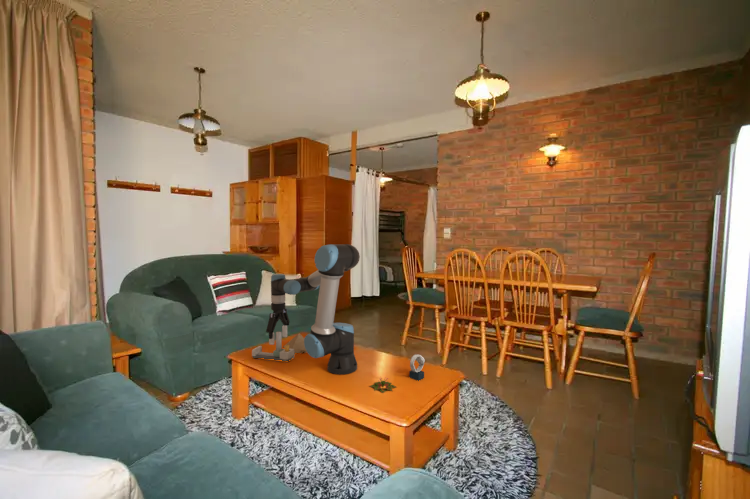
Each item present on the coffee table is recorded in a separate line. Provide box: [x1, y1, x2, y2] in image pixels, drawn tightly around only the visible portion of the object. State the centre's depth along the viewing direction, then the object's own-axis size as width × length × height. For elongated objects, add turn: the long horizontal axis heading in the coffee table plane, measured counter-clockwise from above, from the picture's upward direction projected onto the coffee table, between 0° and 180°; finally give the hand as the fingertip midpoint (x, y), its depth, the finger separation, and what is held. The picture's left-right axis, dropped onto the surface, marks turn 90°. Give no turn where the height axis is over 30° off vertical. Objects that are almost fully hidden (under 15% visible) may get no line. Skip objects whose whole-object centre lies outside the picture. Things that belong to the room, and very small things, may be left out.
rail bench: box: [251, 345, 295, 362], centre depth 185 cm, size 22×7×5 cm, turn 75°
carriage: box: [272, 331, 284, 357], centre depth 184 cm, size 4×5×13 cm
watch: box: [408, 353, 426, 382], centre depth 159 cm, size 6×8×11 cm
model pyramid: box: [282, 333, 307, 355], centre depth 201 cm, size 17×17×10 cm
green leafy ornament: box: [369, 377, 397, 394], centre depth 150 cm, size 12×12×5 cm
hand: (278, 340), depth 184 cm, fingers open, 13 cm apart
